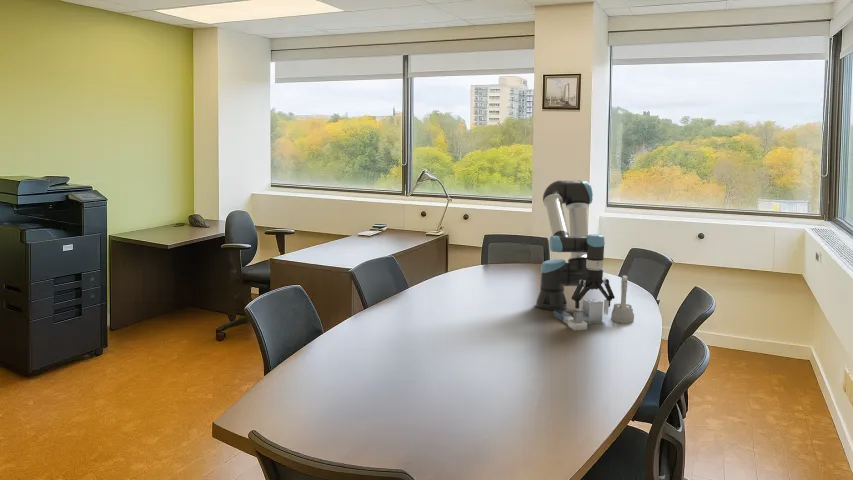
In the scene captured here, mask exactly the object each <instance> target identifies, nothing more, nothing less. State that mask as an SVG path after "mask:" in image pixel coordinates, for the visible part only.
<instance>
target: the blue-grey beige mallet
mask: <svg viewBox="0 0 853 480" xmlns="http://www.w3.org/2000/svg"><path fill="white" fill-rule="evenodd" d="M572 314H573V316H572V315H571V314H570V313H568V312H566V311H564V309H563V310H553V317H555V318H556V319H558V320H559V321H560V322H563V323H565V324H566V325H567V327H568V328H569V329H571V330H573V331H583V330H587V329H588V323H586V322H585V321H583V312H582V310H581V311H577V310H573V313H572Z"/></svg>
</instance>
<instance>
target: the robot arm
mask: <svg viewBox="0 0 853 480" xmlns="http://www.w3.org/2000/svg"><path fill="white" fill-rule="evenodd" d="M542 203H543V205H544V207H545V208H546V211H547V217H548V221H549V225H550V230H551V236H550V237H549V241H548V242H549V244H548V245H549V250H550V251H551V252H552V253H570V257H569V258H568V260H567V262H566V260H565V259H562V258H561V259H560V258H559V259H558V258H555V259H548V260H545V261H543V262H542V263H541V264H540V265H541V267H540V285H539V286H540V287H539V288H540V289H539V293H538V296H537V298H536V301H535V306H536V308H538V309H541V310H546V311H554V310H563V311H564V310H566V309H567V308H568V301H567V299H566V294H565V287H576V288H575V290H574V292H573V294H572V296H571V298H570V299H571V300H572V301H575V303H574V307H575V309H576V311H582V301H581V300H583V298H584V297H585V295H586V294H587V292H589V291H590V290H593V291H594V290H599V291H600V292H601V294H602V295H603V297H604V298H605V299H604V302H603V314H605V315H606V316H607V315H609V308H610V307H611V301H612V300H614V299H615V297H616V296H615V295H614V292H613V290H612V287H611V285H610V280H609V279H608V278H603V277H604V270H603V269H604V256H605V244H606V243H605V236H604V235H603V234H597V233H593V234H592V233H591V234H588V219H587V217H588V216H587V215H588V214H587V210H588V208H589V207H590V204H592V203H593V189H592V186H591V184H590V182H588V181H586V180H556V181H555V180H554V181H553V182H552V183H550V184H549V185H548V186H547V187H546V188H545V189H544V192H543V195H542ZM563 204H565V208H566V209H567V211H568V216H569V218H568V219H569V221H568V222H569V228H568V225H567V221H566V217H565V212H564V209H563V208H564V207H563ZM568 229H569V230H568ZM603 284H604V287H605V288H604V287H603ZM605 289H606V290H605Z"/></svg>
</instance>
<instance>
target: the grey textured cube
mask: <svg viewBox="0 0 853 480" xmlns="http://www.w3.org/2000/svg"><path fill="white" fill-rule="evenodd" d="M581 311H582V312H583V321H585V322H586V323H587V325H593V324H594V325H595V324H603V313H604V302H603V301H601V300H599V299H597V298H587V299H586V298H584V299H583V298H582V306H581Z"/></svg>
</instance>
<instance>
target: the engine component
mask: <svg viewBox="0 0 853 480" xmlns="http://www.w3.org/2000/svg"><path fill="white" fill-rule="evenodd" d="M620 283H621V285H620V286H621V287H620V289H621V290H620V291H621V294H620V295H621V296H620V303H614V304H613V309H612V311H611V314H610V315H611V317H610V319H611V320H612V321H614V322H617V323H625V324H626V323H633V322H634V321H635V313H634V311H633V310H634V309H633V308H632V305H631V304H630V303H629V304H628V303H627V292H628V276H627V275H622V276H621V281H620Z"/></svg>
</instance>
